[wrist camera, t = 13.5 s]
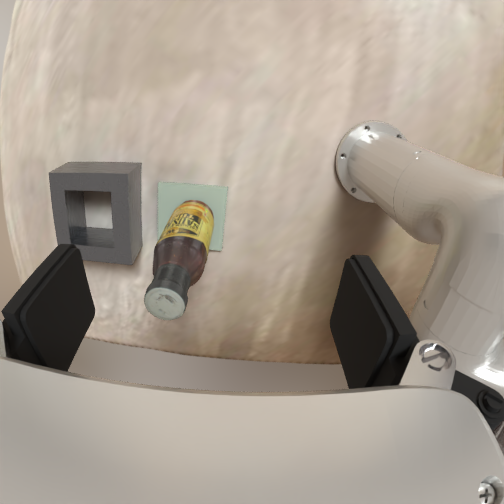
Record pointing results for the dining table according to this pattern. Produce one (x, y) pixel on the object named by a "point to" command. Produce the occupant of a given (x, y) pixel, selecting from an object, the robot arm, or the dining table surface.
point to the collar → (123, 209)
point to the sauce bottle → (179, 259)
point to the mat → (181, 192)
